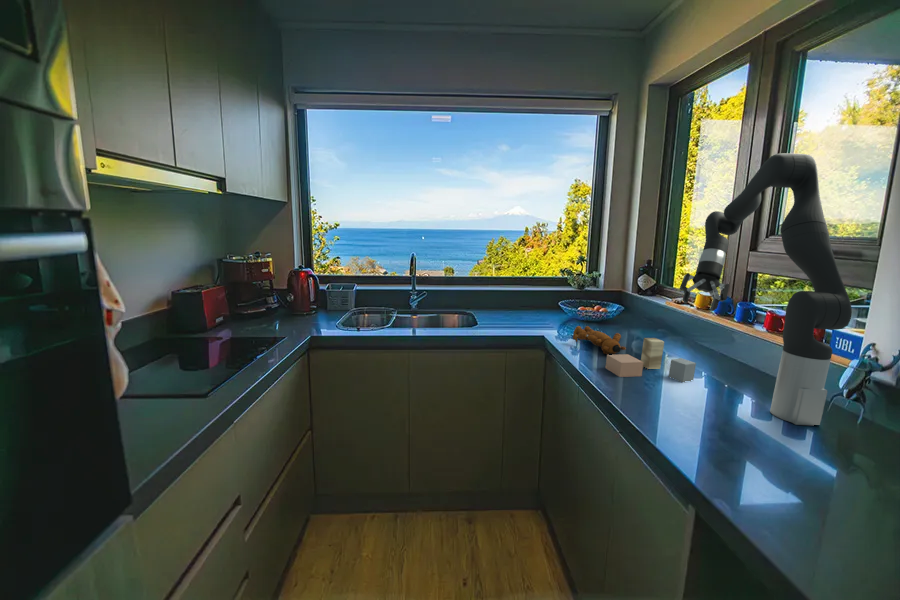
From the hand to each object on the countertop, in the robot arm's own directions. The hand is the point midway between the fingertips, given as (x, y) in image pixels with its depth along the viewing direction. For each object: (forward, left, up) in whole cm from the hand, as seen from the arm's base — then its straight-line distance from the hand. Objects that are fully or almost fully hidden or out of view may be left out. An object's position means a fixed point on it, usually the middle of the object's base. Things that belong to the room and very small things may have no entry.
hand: (698, 306), depth 137 cm
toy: (+20, +26, -22) cm, 39 cm away
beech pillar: (-3, +16, -22) cm, 27 cm away
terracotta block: (-9, +28, -22) cm, 36 cm away
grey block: (-13, +11, -22) cm, 28 cm away
